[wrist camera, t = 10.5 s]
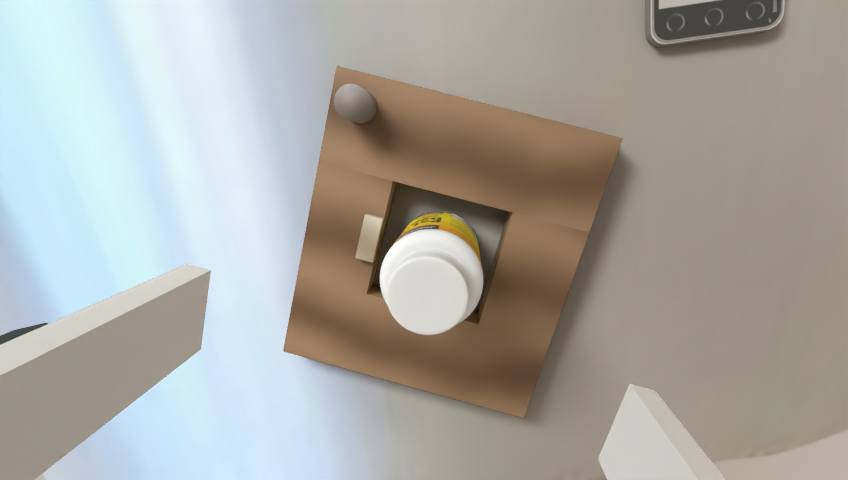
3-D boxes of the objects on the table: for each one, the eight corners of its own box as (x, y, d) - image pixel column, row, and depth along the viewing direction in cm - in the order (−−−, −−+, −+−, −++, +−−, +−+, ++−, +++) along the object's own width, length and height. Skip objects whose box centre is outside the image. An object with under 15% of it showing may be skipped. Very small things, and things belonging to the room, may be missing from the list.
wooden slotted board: (345, 72, 27) (324, 57, 23) (610, 139, 27) (639, 136, 22) (294, 338, 32) (268, 368, 27) (519, 401, 31) (529, 441, 27)
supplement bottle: (447, 193, 28) (439, 215, 18) (493, 256, 29) (511, 311, 19) (384, 239, 29) (345, 283, 19) (431, 299, 30) (415, 372, 20)
